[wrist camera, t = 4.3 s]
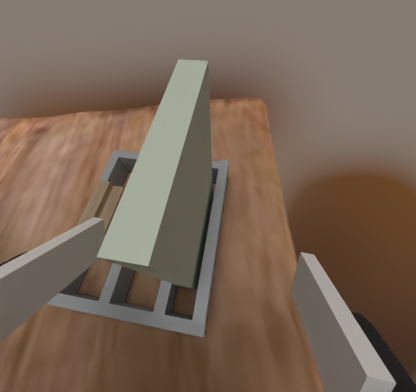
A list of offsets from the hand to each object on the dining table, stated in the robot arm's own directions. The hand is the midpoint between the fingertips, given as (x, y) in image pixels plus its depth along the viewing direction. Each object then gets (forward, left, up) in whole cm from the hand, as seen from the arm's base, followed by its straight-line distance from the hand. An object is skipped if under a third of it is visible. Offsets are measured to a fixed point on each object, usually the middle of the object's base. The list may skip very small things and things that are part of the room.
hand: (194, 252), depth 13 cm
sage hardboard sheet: (-2, +5, -14) cm, 15 cm away
